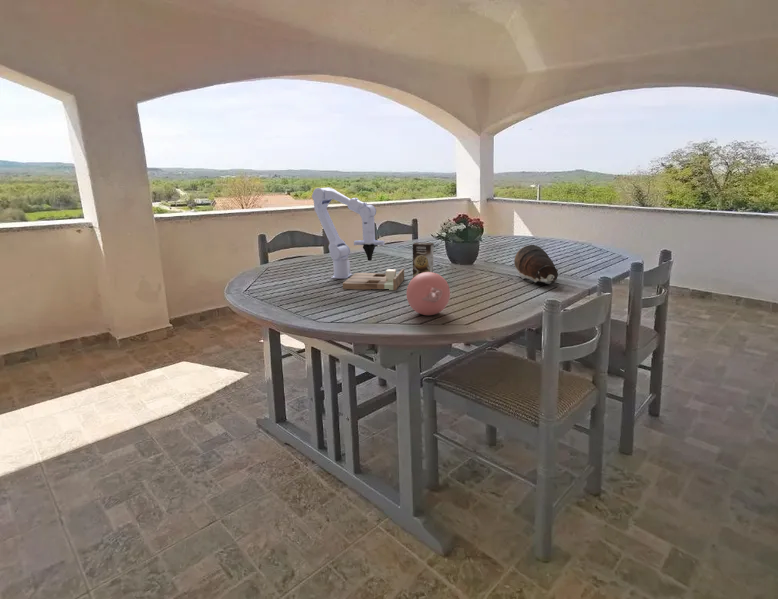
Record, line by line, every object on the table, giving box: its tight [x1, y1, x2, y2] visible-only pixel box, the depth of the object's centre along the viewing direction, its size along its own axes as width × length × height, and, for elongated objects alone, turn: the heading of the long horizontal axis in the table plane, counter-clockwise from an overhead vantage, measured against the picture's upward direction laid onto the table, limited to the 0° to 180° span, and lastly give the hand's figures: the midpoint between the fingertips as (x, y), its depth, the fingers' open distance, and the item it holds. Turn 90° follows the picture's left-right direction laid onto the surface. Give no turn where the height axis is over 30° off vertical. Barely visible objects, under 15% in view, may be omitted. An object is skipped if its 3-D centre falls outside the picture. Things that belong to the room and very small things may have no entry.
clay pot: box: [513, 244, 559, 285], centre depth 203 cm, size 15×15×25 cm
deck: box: [342, 268, 405, 291], centre depth 209 cm, size 21×24×5 cm
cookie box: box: [412, 241, 435, 278], centre depth 220 cm, size 9×6×16 cm
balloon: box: [406, 271, 451, 316], centre depth 159 cm, size 15×20×15 cm
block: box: [385, 268, 397, 280], centre depth 207 cm, size 4×4×4 cm
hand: (369, 260), depth 216 cm, fingers closed
